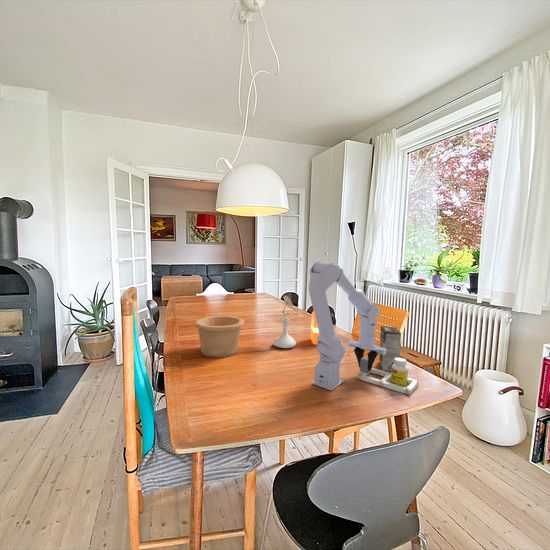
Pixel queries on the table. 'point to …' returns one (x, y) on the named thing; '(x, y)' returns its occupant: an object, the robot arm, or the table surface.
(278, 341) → the flower in vase
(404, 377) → the supplement bottle
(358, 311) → the robot arm
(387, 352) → the coffee box
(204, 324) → the pottery
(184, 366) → the table surface
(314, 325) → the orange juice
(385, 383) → the slotted grey tray
